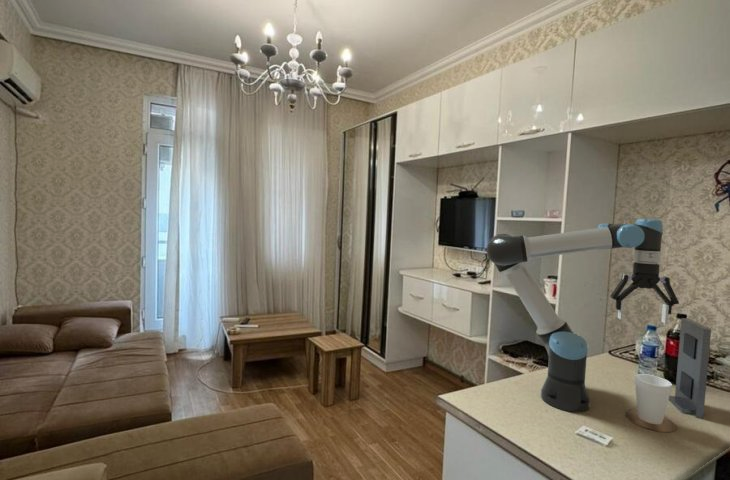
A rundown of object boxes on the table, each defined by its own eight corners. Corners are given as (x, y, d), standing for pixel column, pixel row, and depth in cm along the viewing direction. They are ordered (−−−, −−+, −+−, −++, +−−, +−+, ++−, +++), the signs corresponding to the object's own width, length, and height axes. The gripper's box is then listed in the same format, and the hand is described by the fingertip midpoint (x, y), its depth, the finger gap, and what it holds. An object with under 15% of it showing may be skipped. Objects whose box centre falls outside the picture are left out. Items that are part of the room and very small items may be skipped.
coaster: (634, 427, 117) (634, 425, 117) (619, 407, 130) (619, 406, 130) (684, 435, 113) (684, 434, 113) (664, 414, 126) (664, 412, 126)
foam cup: (631, 408, 128) (634, 371, 127) (665, 416, 123) (668, 378, 122) (633, 421, 120) (636, 381, 119) (670, 430, 115) (674, 389, 114)
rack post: (685, 415, 125) (692, 327, 123) (665, 396, 139) (671, 317, 137) (703, 418, 124) (711, 329, 122) (681, 399, 137) (688, 318, 135)
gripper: (610, 261, 134) (605, 319, 135) (694, 266, 127) (689, 327, 128) (603, 259, 141) (599, 314, 143) (682, 263, 134) (678, 321, 135)
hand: (641, 320), depth 135 cm, fingers open, 13 cm apart
